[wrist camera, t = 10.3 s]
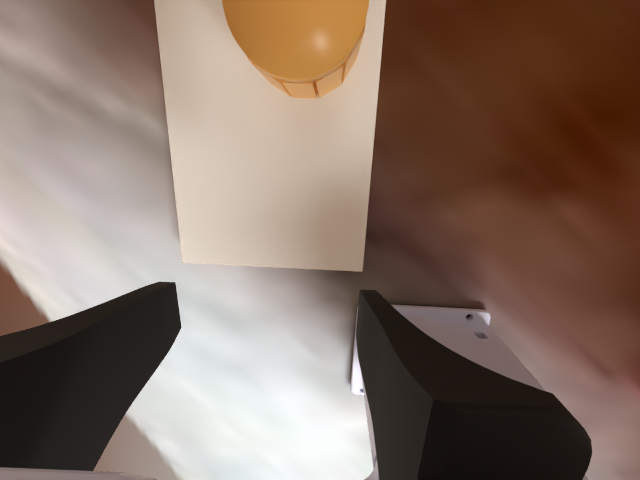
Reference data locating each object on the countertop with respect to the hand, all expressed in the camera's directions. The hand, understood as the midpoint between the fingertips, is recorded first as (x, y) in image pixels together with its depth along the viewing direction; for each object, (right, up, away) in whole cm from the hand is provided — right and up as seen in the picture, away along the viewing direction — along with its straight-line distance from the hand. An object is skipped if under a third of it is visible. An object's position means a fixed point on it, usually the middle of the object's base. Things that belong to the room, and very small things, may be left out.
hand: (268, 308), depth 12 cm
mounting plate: (-1, +10, +7) cm, 12 cm away
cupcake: (+1, +13, +4) cm, 14 cm away
